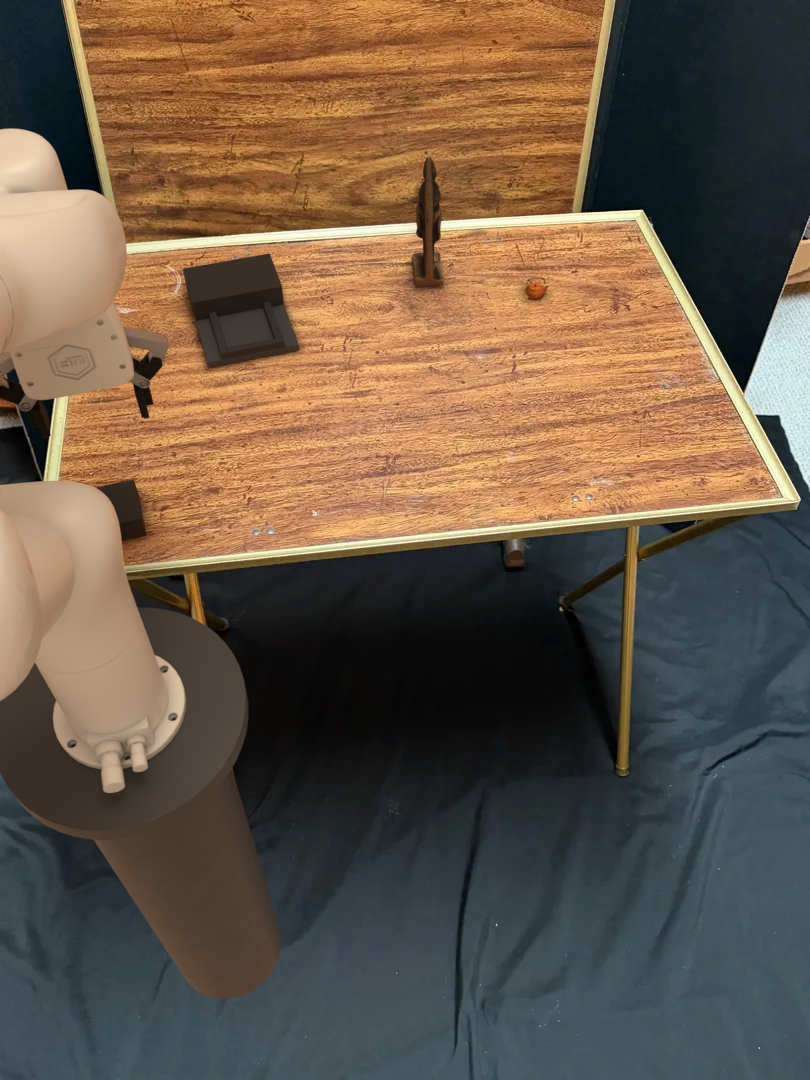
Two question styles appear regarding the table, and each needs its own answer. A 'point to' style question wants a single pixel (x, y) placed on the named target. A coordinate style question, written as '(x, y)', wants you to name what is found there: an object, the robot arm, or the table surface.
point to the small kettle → (535, 290)
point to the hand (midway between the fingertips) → (95, 418)
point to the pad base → (246, 334)
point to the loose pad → (126, 508)
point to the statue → (428, 229)
